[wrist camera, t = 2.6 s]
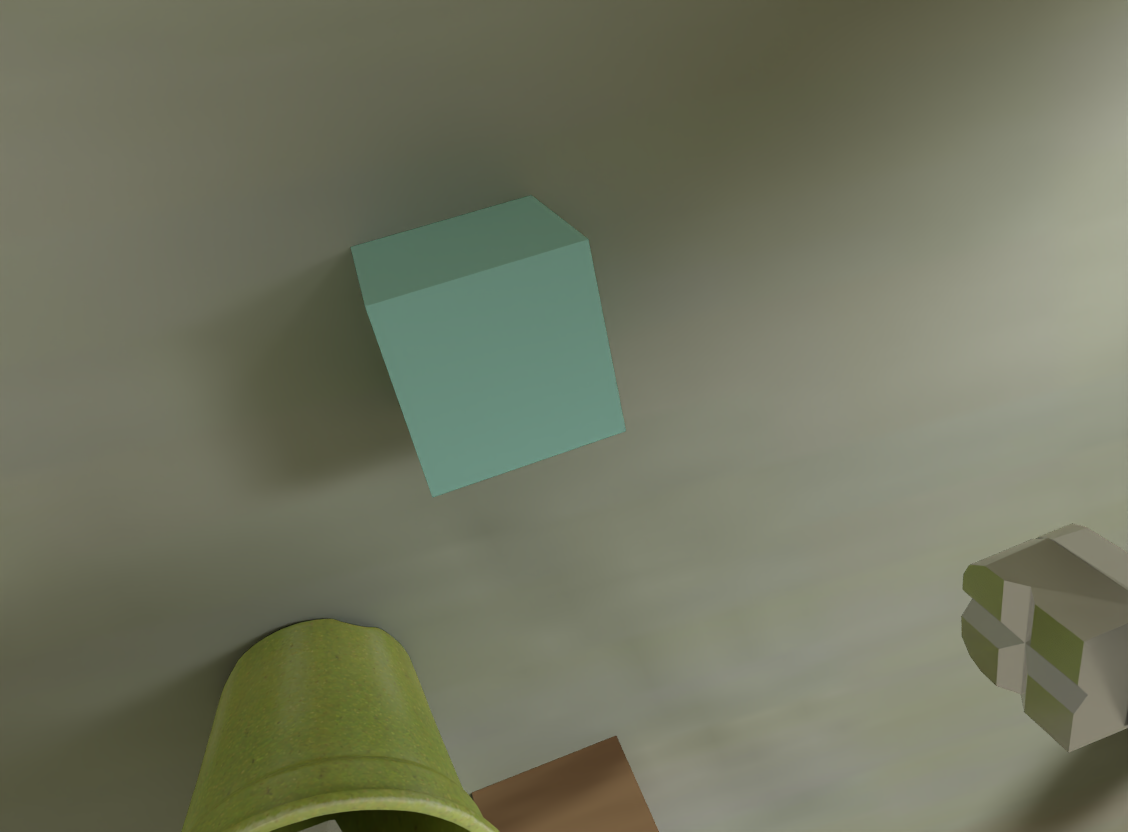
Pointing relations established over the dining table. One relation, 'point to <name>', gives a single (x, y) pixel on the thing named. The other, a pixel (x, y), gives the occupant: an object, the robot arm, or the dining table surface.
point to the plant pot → (327, 741)
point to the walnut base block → (570, 795)
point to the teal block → (492, 340)
